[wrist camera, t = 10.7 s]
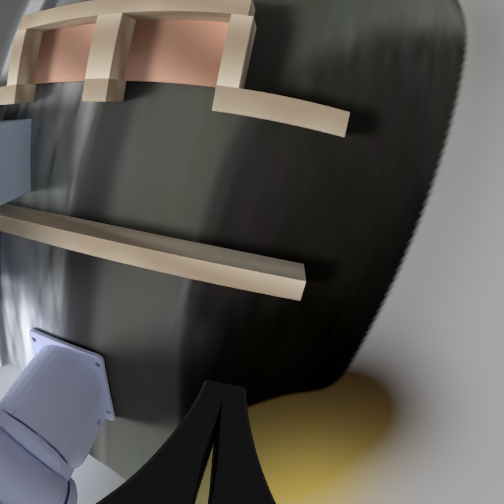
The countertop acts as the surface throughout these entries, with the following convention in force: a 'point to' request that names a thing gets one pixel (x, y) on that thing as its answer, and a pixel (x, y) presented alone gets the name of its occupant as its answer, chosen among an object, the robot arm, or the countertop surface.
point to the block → (15, 159)
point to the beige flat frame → (154, 70)
